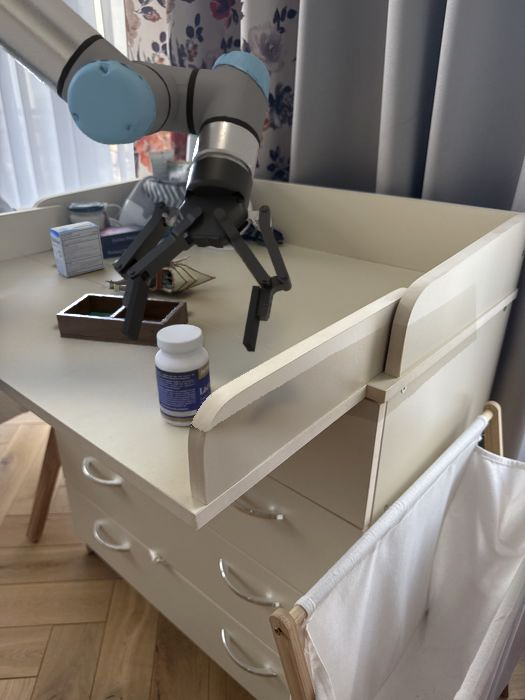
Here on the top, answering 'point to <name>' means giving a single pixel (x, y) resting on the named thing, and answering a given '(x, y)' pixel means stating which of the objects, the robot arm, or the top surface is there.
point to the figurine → (169, 278)
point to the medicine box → (77, 248)
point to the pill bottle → (181, 373)
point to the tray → (118, 319)
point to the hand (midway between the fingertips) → (187, 342)
